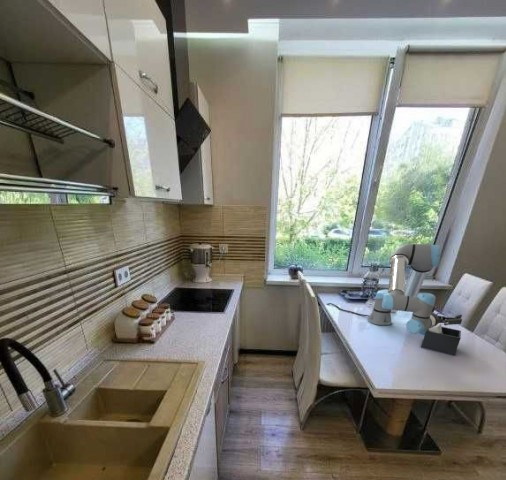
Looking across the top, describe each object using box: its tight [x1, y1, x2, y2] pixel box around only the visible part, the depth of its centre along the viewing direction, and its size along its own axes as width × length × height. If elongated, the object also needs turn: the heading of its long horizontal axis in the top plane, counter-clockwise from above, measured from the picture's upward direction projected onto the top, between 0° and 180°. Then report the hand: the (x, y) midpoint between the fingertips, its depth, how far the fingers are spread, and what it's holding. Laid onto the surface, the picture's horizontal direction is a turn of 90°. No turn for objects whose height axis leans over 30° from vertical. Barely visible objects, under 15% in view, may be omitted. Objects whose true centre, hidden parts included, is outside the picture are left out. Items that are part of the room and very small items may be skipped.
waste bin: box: [420, 326, 462, 356], centre depth 161 cm, size 17×13×11 cm
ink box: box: [428, 323, 443, 334], centre depth 162 cm, size 8×5×15 cm, turn 137°
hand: (446, 313), depth 152 cm, fingers open, 13 cm apart
